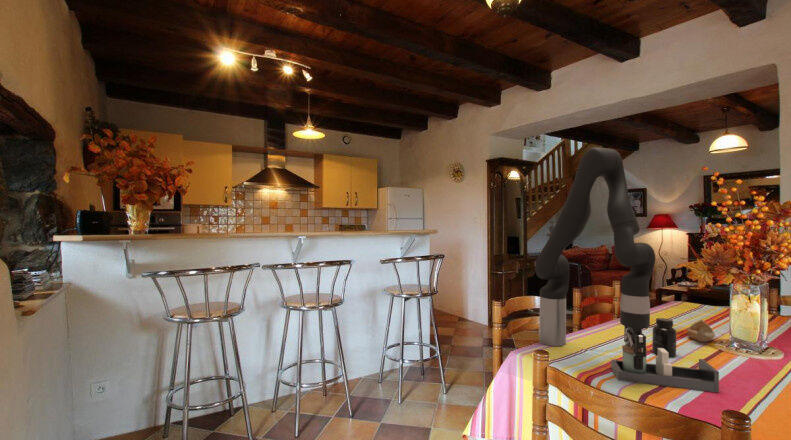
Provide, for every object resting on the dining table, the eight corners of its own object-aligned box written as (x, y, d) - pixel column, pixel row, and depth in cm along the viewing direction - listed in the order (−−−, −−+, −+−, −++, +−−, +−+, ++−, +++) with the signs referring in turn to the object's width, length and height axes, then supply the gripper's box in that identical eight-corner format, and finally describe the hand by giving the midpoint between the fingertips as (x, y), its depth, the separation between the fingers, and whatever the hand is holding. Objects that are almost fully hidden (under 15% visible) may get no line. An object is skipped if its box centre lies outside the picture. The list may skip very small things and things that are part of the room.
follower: (663, 381, 110) (663, 354, 110) (655, 372, 117) (655, 346, 116) (671, 382, 109) (672, 355, 109) (663, 372, 116) (663, 346, 116)
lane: (618, 380, 112) (618, 361, 112) (611, 367, 122) (611, 349, 122) (718, 392, 104) (718, 372, 104) (702, 378, 114) (702, 359, 114)
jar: (625, 377, 113) (625, 350, 113) (619, 369, 119) (620, 343, 119) (649, 380, 111) (649, 352, 111) (643, 372, 117) (643, 345, 117)
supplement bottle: (680, 358, 130) (680, 322, 130) (657, 356, 131) (658, 321, 131) (670, 351, 137) (670, 317, 137) (648, 349, 138) (649, 316, 138)
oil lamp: (686, 344, 145) (687, 317, 145) (686, 331, 162) (686, 307, 162) (716, 349, 140) (717, 321, 139) (712, 335, 157) (713, 310, 157)
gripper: (657, 316, 107) (656, 374, 107) (642, 305, 121) (642, 357, 121) (626, 314, 110) (625, 371, 110) (615, 303, 123) (614, 354, 123)
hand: (634, 363), depth 115 cm, fingers open, 8 cm apart
